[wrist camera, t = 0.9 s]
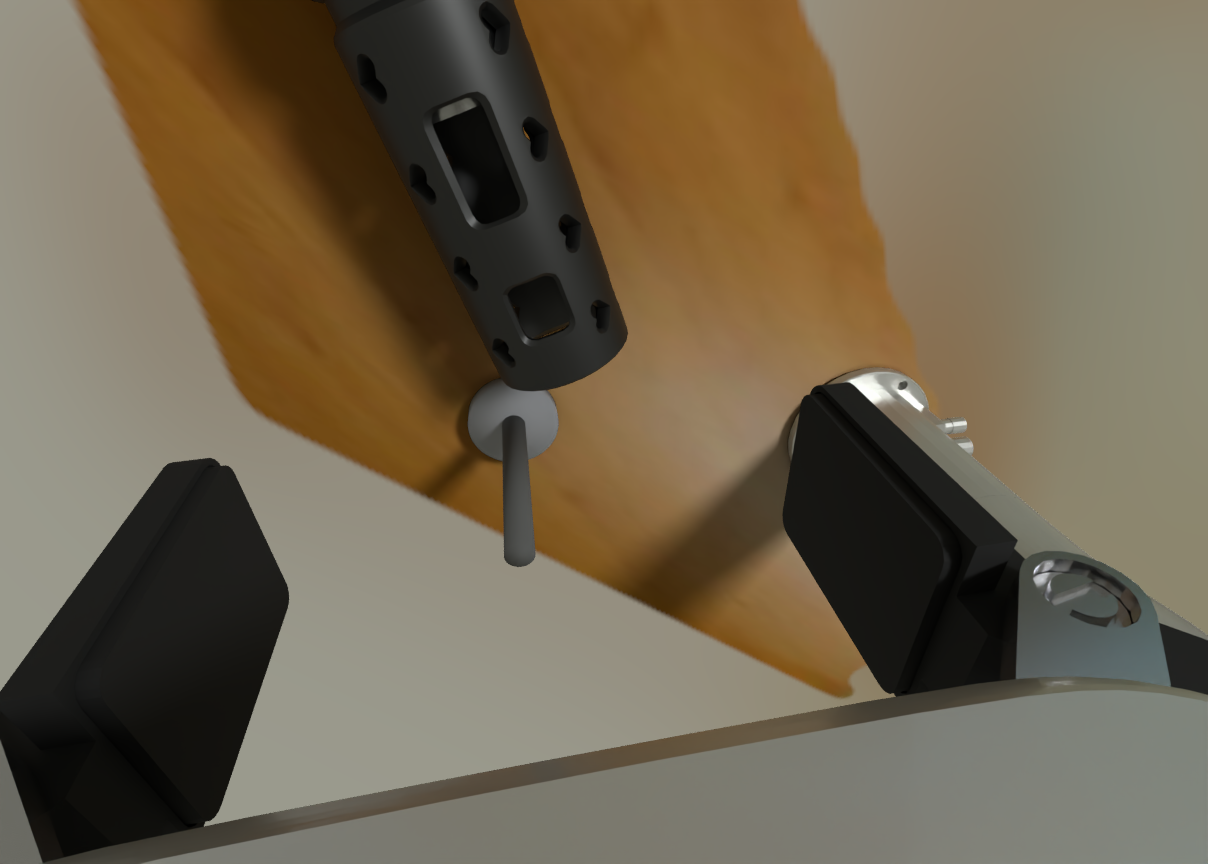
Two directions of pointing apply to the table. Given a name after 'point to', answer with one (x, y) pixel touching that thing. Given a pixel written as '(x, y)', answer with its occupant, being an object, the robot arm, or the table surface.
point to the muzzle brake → (487, 178)
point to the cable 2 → (514, 453)
